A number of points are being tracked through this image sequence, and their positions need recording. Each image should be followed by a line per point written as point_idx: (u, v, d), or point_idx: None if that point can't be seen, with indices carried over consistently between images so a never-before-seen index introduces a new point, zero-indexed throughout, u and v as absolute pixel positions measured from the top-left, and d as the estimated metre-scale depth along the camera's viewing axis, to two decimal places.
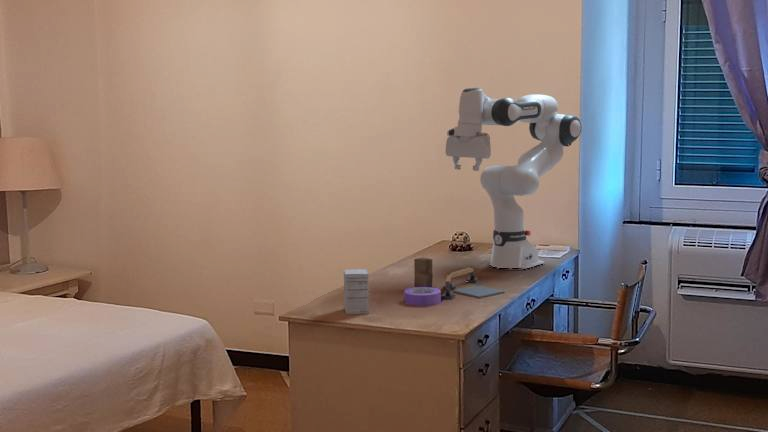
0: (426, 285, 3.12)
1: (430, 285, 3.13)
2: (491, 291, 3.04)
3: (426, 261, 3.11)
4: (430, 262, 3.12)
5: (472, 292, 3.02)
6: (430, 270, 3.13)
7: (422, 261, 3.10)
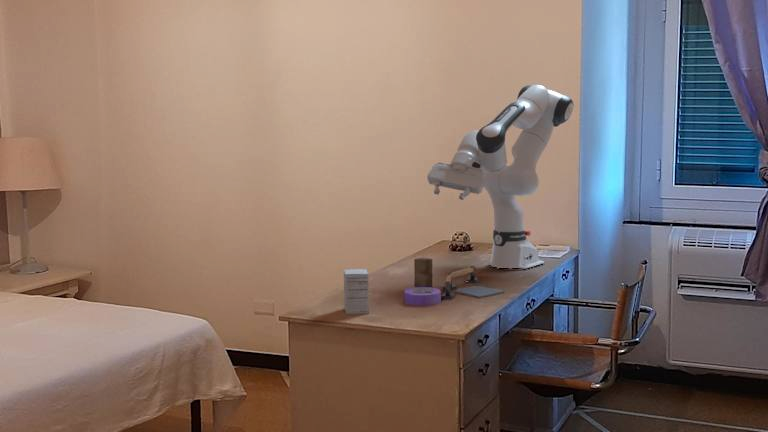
0: (426, 285, 3.12)
1: (430, 285, 3.13)
2: (491, 291, 3.04)
3: (426, 261, 3.11)
4: (430, 262, 3.12)
5: (472, 292, 3.02)
6: (430, 270, 3.13)
7: (422, 261, 3.10)
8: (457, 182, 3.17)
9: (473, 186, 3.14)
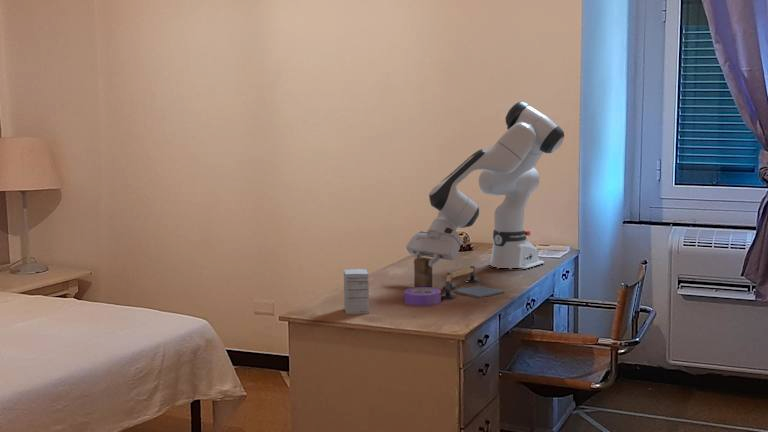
0: (426, 285, 3.12)
1: (430, 285, 3.13)
2: (491, 291, 3.04)
3: (426, 261, 3.11)
4: None
5: (472, 292, 3.02)
6: (430, 270, 3.13)
7: (422, 261, 3.10)
8: (430, 250, 3.13)
9: (443, 253, 3.09)
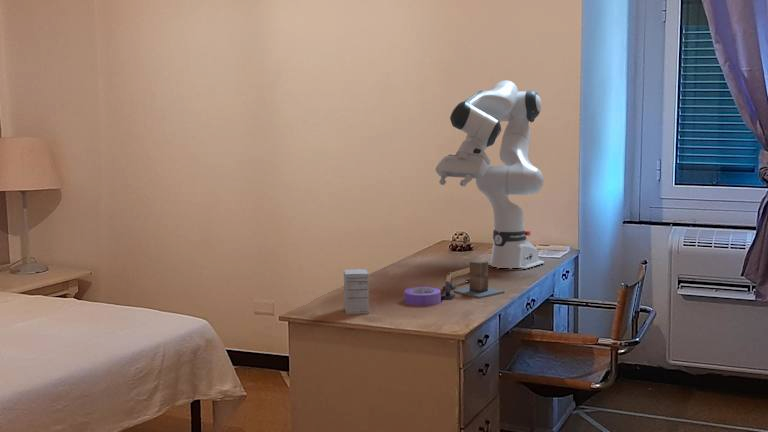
0: (482, 289, 3.02)
1: (486, 289, 3.04)
2: (491, 291, 3.04)
3: (482, 264, 3.01)
4: (486, 265, 3.03)
5: (472, 292, 3.02)
6: (486, 273, 3.03)
7: (478, 264, 3.01)
8: (459, 170, 3.24)
9: (472, 171, 3.19)
